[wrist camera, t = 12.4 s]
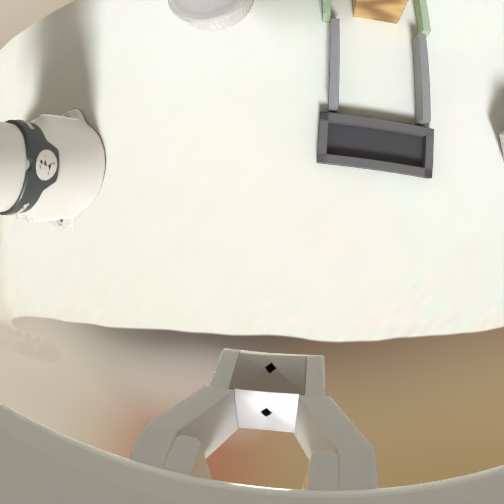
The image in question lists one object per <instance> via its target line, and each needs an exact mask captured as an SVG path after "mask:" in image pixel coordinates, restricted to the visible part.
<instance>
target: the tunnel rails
mask: <svg viewBox="0 0 504 504" xmlns="http://www.w3.org/2000/svg"><path fill="white" fill-rule="evenodd" d="M412 45H413V58H414V75H415V124H416V125H421V126H423V125H425V124H427V123H428V122H430V121H431V109H430V80H429V64H428V52H427V42H426V34H423V33H419V32H418V33H417V35H416V37H415V38H414V40H413V41H412ZM339 64H340V29H339V19H337V18H331V26H330V81H329V108H328V112H337V109H338V105H339Z"/></svg>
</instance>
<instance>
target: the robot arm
mask: <svg viewBox="0 0 504 504" xmlns="http://www.w3.org/2000/svg"><path fill="white" fill-rule="evenodd" d="M104 171H105V154H104V148H103V145H102V142H101V140H100V137H99V136H98V134H97V133H96V131H95V130H94V129H93V128H91V127H90V126H89V125H88V124H87V123H86V122H85V120H84V117H83V115H82V113H81V111H80V110H79V109H71V110H69V111H67V112H64V113H62V114H60V115H58V116H57V115H50V114H41V115H40V116H39V117H37V118H35V119H33V120H32V121H30V122H27V121H24V120H8V121H6V122H0V215H16V218H17V219H21V220H26V219H27V221H30V222H33V221H35V222H40V221H46V222H48V223H51V224H53V225H56V226H58V227H61V228H63V229H71V228H73V226H74V225H75V223H76V221H77V219H78V217H79V215H80V214H81V213H82V212H83V211H84V210H85V209H86V208H87V207H89V206H90V204H91V203H92V202H93V201H94V199H95V198H96V196H97V194H98V192H99V190H100V187H101V185H102V181H103V177H104ZM62 219H63V221H62ZM324 371H325V369H324V356H323V355H307V356H306V355H293V354H276V353H264V352H254V351H245V350H234V349H227V348H224V349H223V351H222V352H221V355H220V358H219V361H218V364H217V367H216V369H215V372H214V375H213V378H212V381H211V383H210V386H203V387H202V388H200V389H199V390H198V391H196V392H195V393H193V394H192V395H190V396H189V397H187V398H186V399H184V400H183V401H181V402H180V403H178V404H177V405H175V406H174V407H172V408H170V409H169V410H167V411H166V412H164V413H163V414H161V415H160V416H158V417H156V418H155V419H153V420H152V421H150V422H149V423H147V424H146V425H145V426H144V428H143V430H142V432H141V434H140V436H139V438H138V440H137V442H136V444H135V446H134V449H133V451H132V453H131V455H130V457H129V459H127V458H124V457H121V456H118V455H115V454H112V453H109V452H107V451H104V450H101V449H98V448H96V447H93V446H90V445H88V444H85V443H83V442H80V441H78V440H76V439H73V438H71V437H69V436H66V435H64V434H62V433H59V432H57V431H55V430H53V429H51V428H49V427H47V426H44V425H42V424H40V423H38V422H36V421H34V420H33V419H30V418H28V417H27V416H25V415H23V414H21V413H19V412H17V411H16V410H14V409H12V408H10V407H8V406H7V405H5V404H3V403H2V402H0V504H504V465H502V466H498V467H495V468H492V469H488V470H485V471H481V472H477V473H473V474H469V475H465V476H460V477H455V478H451V479H446V480H440V481H435V482H429V483H423V484H415V485H408V486H400V487H390V488H378V480H377V466H376V454H375V448H374V447H373V446H372V445H371V444H370V443H369V442H368V440H367V439H366V438H365V437H364V436H363V435H362V433H361V432H360V431H359V430H358V429H357V428H356V427H355V425H354V424H353V423H352V422H351V421H350V420H349V418H348V417H347V416H346V415H345V414H344V413H343V411H342V410H341V409H340V408H339V407H338V406H337V404H336V403H335V402H334V401H333V400H332V398H331V397H329V396H325V372H324ZM238 427H243V428H253V429H266V430H274V431H284V432H294V435H295V436H296V438H297V440H298V441H299V443H300V445H301V447H302V448H303V450H304V452H305V454H306V455H307V457H308V458H309V460H310V462H309V466H308V469H307V473H306V476H305V480H304V484H303V487H302V490H296V489H281V488H270V487H260V486H251V485H243V484H236V483H229V482H223V481H217V480H212V479H211V476H210V472H209V469H208V466H207V462H206V458H207V457H208V456H209V455H210V454H211V453H212V452H214V451H215V450H216V449H217V448H218V447H219V446H220V445H221V444H222V443H223V442H224V441H225V440H226V439H227V438H229V437H230V435H232V434H233V433H234V432H235V431H236V430H237V428H238Z"/></svg>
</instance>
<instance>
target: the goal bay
mask: <svg viewBox="0 0 504 504" xmlns="http://www.w3.org/2000/svg"><path fill="white" fill-rule="evenodd" d="M414 5H415V12H416V20H417V28H418V32H419V33H423V34H426V37H427V36H428V35H429V33H430V32H431V29H430V21H429V15H428V9H427V3H426V0H414ZM330 19H331V0H323V22H327V23H330Z"/></svg>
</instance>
